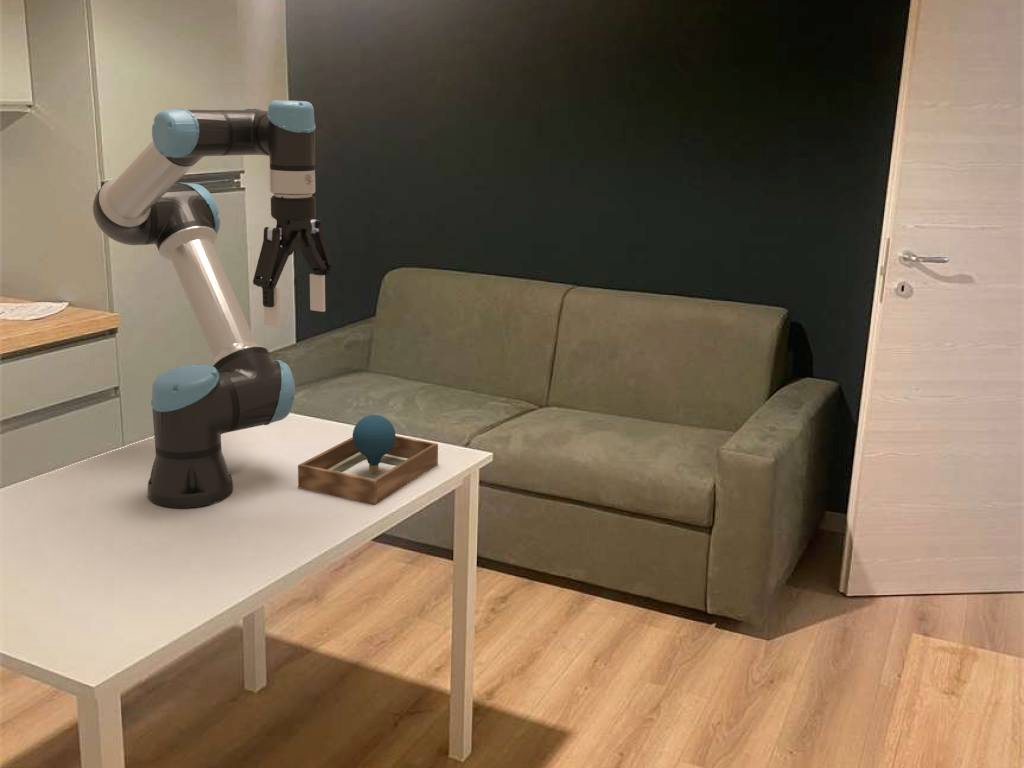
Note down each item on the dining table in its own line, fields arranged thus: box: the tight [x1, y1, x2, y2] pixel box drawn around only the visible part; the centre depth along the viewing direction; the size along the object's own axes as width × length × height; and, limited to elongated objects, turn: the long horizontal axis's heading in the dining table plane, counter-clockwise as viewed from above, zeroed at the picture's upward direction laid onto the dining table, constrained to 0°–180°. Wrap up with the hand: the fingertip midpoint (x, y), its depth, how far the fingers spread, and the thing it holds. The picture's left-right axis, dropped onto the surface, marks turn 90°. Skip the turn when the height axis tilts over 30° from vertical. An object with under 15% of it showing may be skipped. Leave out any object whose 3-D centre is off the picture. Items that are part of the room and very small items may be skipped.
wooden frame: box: [297, 435, 439, 505], centre depth 207 cm, size 17×24×4 cm
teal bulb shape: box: [352, 414, 397, 475], centre depth 207 cm, size 8×8×12 cm
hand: (295, 317), depth 184 cm, fingers open, 13 cm apart
